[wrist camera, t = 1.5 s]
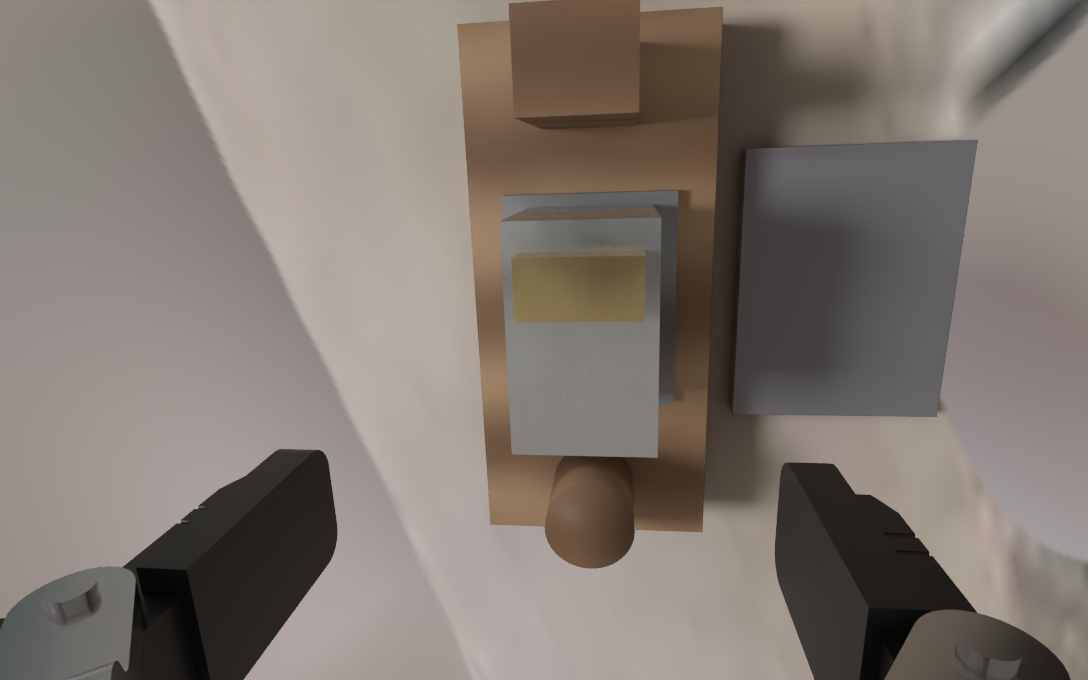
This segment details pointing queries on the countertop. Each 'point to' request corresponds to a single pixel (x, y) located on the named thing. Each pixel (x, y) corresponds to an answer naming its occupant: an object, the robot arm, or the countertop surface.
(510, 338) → the grey labelled box
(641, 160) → the plane body
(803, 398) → the rubber mat
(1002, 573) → the countertop surface
